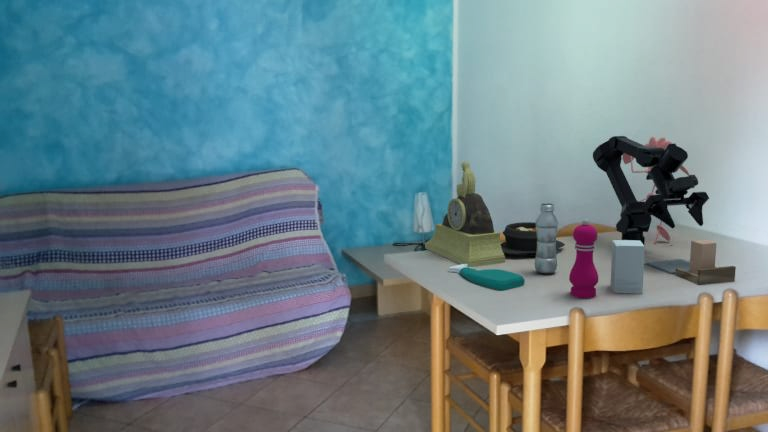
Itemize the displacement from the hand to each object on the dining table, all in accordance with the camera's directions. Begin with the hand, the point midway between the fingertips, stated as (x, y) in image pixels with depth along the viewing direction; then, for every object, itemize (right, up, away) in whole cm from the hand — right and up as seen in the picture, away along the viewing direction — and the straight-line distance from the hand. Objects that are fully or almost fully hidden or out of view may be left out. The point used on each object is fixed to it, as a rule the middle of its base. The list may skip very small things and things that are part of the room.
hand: (687, 226), depth 199 cm
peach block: (+2, -14, -4) cm, 15 cm away
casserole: (-39, -9, +29) cm, 49 cm away
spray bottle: (-58, -15, -1) cm, 60 cm away
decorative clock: (-61, -10, +26) cm, 67 cm away
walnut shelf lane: (+2, -14, -5) cm, 15 cm away
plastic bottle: (-39, -14, +4) cm, 42 cm away
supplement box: (-22, -17, -14) cm, 31 cm away
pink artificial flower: (+7, -5, +43) cm, 44 cm away
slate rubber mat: (-1, -12, +6) cm, 14 cm away
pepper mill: (-35, -18, -18) cm, 43 cm away
